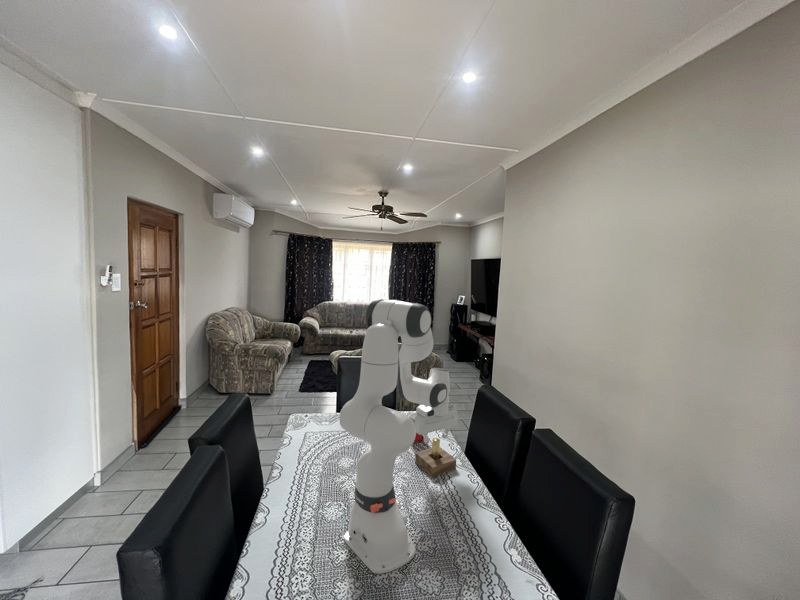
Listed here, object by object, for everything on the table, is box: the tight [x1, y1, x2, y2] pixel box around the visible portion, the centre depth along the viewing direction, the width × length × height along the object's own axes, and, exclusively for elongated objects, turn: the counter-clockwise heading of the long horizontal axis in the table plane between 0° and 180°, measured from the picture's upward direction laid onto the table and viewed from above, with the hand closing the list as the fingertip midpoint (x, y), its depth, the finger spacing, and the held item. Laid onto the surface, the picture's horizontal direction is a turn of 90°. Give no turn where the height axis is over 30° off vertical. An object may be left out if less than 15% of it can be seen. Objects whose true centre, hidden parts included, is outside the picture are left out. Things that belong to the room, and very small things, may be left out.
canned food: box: [409, 412, 424, 443], centre depth 158 cm, size 8×8×11 cm
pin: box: [431, 437, 441, 460], centre depth 136 cm, size 3×3×10 cm
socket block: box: [414, 447, 457, 478], centre depth 136 cm, size 12×12×4 cm
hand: (435, 439), depth 135 cm, fingers open, 8 cm apart
